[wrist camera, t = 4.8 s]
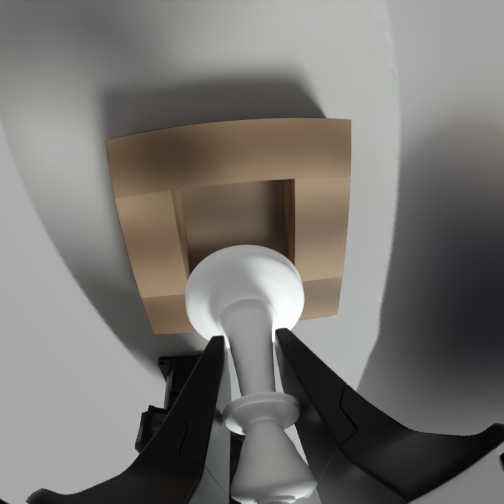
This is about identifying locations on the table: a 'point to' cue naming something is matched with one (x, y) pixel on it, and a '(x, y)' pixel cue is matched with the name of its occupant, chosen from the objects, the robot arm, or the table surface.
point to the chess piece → (254, 363)
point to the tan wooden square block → (233, 204)
